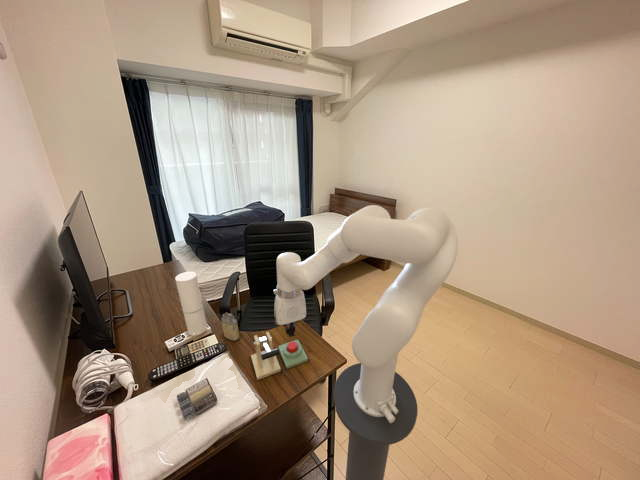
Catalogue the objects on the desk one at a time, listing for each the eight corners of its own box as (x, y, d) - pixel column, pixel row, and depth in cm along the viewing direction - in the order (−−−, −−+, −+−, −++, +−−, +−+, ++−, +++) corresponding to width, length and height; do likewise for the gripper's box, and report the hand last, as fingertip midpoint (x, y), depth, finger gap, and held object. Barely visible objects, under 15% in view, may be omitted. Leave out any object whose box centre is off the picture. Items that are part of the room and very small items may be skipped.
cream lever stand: (281, 371, 85) (279, 344, 81) (257, 380, 82) (253, 352, 77) (272, 350, 93) (270, 324, 89) (251, 357, 90) (247, 331, 86)
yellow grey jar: (241, 336, 100) (238, 315, 96) (234, 342, 97) (230, 321, 93) (228, 330, 103) (225, 310, 99) (221, 336, 100) (217, 315, 96)
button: (298, 350, 90) (298, 347, 89) (289, 354, 88) (289, 350, 88) (295, 343, 93) (295, 340, 92) (286, 347, 91) (285, 343, 91)
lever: (279, 356, 75) (278, 348, 75) (263, 362, 73) (261, 354, 73) (270, 341, 86) (269, 334, 86) (255, 346, 84) (254, 339, 84)
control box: (308, 360, 89) (308, 354, 88) (286, 369, 86) (286, 362, 85) (298, 341, 97) (297, 335, 96) (278, 348, 94) (277, 342, 93)
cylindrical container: (208, 322, 107) (198, 270, 98) (204, 334, 101) (193, 280, 91) (190, 324, 106) (178, 272, 97) (185, 336, 100) (172, 282, 90)
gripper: (269, 302, 75) (272, 348, 82) (315, 290, 81) (314, 334, 88) (263, 289, 81) (266, 333, 88) (306, 279, 87) (306, 321, 95)
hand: (290, 333), depth 88 cm, fingers closed
